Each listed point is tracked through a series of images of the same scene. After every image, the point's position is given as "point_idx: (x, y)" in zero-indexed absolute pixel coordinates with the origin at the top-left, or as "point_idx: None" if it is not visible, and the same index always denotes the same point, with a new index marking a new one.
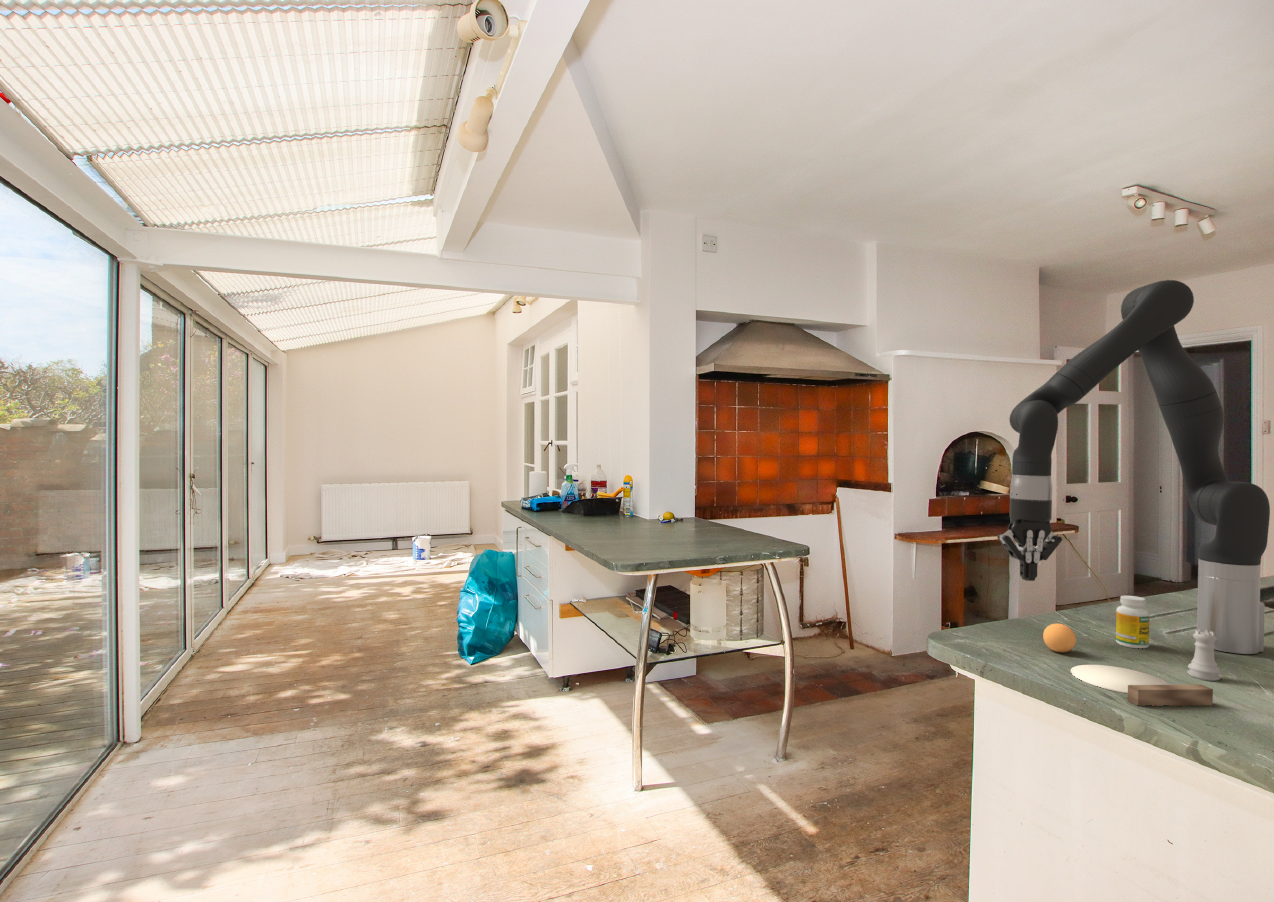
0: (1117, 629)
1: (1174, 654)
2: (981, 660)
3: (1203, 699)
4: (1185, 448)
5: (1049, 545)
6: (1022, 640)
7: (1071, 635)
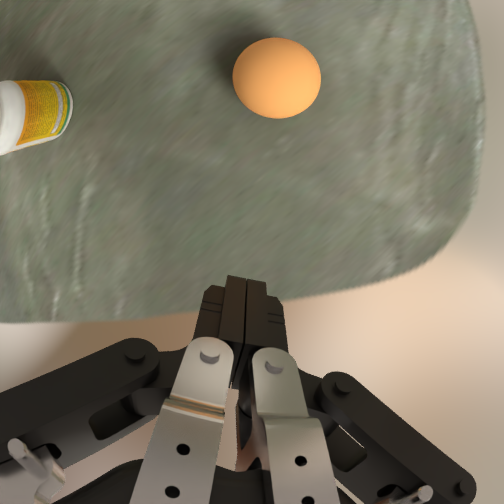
0: (52, 121)
1: (36, 49)
2: (478, 113)
3: None
4: None
5: (61, 426)
6: (284, 183)
7: (275, 38)
